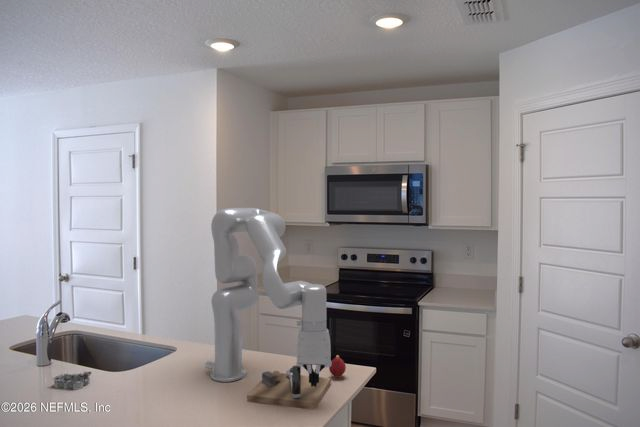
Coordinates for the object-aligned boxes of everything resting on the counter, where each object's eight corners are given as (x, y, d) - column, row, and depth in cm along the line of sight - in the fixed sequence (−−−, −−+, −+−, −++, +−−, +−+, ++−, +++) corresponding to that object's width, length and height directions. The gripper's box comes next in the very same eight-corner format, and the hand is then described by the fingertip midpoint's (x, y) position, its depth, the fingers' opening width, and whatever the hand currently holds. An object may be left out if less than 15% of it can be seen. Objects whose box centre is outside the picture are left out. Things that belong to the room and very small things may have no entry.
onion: (344, 381, 161) (344, 358, 160) (327, 380, 162) (327, 357, 162) (346, 375, 166) (346, 353, 166) (330, 374, 168) (330, 352, 167)
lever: (285, 373, 162) (285, 347, 162) (298, 373, 162) (298, 347, 162) (289, 398, 141) (289, 368, 141) (303, 398, 142) (303, 368, 142)
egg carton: (93, 383, 160) (93, 371, 159) (77, 392, 152) (77, 379, 152) (67, 380, 162) (67, 368, 162) (49, 388, 155) (49, 376, 155)
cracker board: (247, 401, 145) (247, 383, 145) (270, 377, 164) (270, 361, 164) (315, 409, 139) (315, 391, 139) (330, 384, 159) (330, 367, 158)
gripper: (287, 328, 139) (287, 389, 139) (338, 329, 138) (337, 390, 138) (291, 321, 146) (291, 379, 147) (339, 322, 145) (338, 381, 146)
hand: (313, 384), depth 142 cm, fingers closed
